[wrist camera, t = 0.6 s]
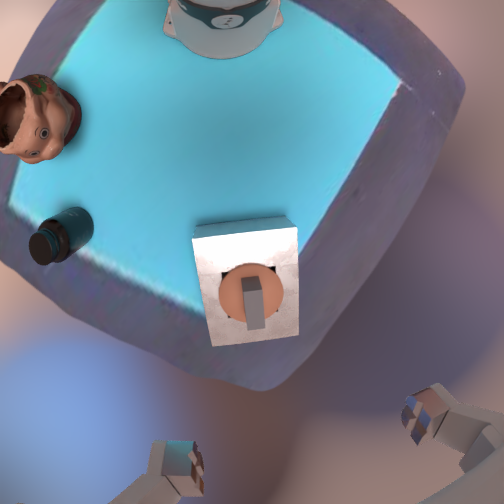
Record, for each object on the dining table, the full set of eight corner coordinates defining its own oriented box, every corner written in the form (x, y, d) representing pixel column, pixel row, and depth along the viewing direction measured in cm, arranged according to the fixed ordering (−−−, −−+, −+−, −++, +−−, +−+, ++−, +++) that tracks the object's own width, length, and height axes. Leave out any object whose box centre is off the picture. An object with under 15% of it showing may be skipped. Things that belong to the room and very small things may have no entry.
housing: (196, 225, 42) (192, 239, 36) (285, 215, 43) (296, 227, 36) (213, 322, 48) (212, 346, 42) (289, 312, 49) (298, 334, 43)
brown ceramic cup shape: (12, 122, 31) (-37, 122, 18) (45, 66, 28) (0, 50, 15) (71, 176, 37) (21, 189, 24) (111, 113, 34) (67, 101, 21)
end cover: (215, 253, 42) (213, 283, 33) (274, 246, 43) (289, 274, 33) (222, 304, 46) (224, 342, 36) (276, 297, 46) (290, 333, 37)
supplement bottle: (82, 198, 38) (42, 215, 27) (101, 233, 41) (67, 260, 29) (57, 218, 39) (17, 239, 27) (74, 251, 41) (40, 280, 30)
